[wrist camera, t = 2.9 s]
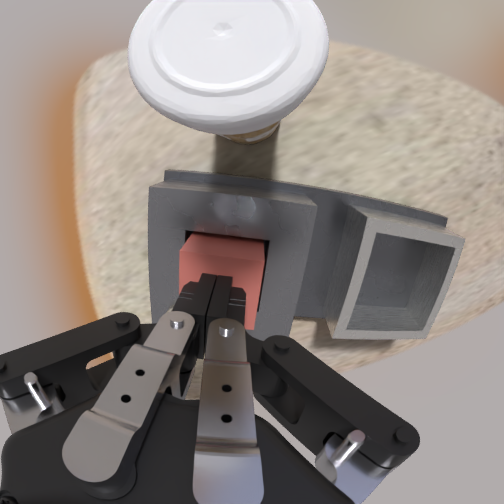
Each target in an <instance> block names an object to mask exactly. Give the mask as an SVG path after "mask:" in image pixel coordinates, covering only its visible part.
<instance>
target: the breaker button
mask: <svg viewBox="0 0 504 504" xmlns="http://www.w3.org/2000/svg"><path fill="white" fill-rule="evenodd" d="M264 263H265V257H264V241H263V239H256V238H248V237H240V236H231V235H223V234H215V233H206V232H198V231H194V232H193V233H192V234H191V236H190V237H189V238H188V240H187V241H186V243H185V244H184V245H183V247H182V248H181V249H180V254H179V294H180V293H181V290H182V288H183V286H184V285H185V284H187V283H188V282H190V281H193V282H199V279H200V277H201V274H202V273H208V274H215V275H217V277H218V275H223V276H231V277H233V281H232V287H239V288H243V290H244V291H245V293H246V306H245V322H244V327H245V329H248V330H254V325H255V319H256V313H257V307H258V301H259V294H260V288H261V282H262V276H263V269H264Z"/></svg>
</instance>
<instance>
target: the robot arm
mask: <svg viewBox="0 0 504 504" xmlns="http://www.w3.org/2000/svg"><path fill="white" fill-rule="evenodd" d="M232 281H233V277H231V276H223V275H218V277H217V275H215V274H208V273H202V274H201V277H200V279H199V282H193V281H190V282H188V283H187V284H185V285H184V286H183V288H182V290H181V293H180V294H179V297H178V299H177V301H176V303H175V305H174V307H173V309H172V311H171V312H168V313H166V314H164V315H163V316H162V317H161V318H160V320H159V321H158V323H153V324H140V320H139V318H138V317H137V316H136V315H134V314H132V313H128V312H120V313H116V314H113V315H110V316H108V317H105V318H102V319H99V320H97V321H94V322H91V323H88V324H86V325H83V326H80V327H77V328H75V329H72V330H69V331H66V332H64V333H61V334H58V335H55V336H52V337H50V338H47V339H44V340H41V341H39V342H36V343H33V344H30V345H27V346H24V347H22V348H19V349H16V350H13V351H10V352H7V353H5V354H2V355H0V399H1V400H2V403H3V407H4V411H5V414H6V417H7V421H8V424H9V427H10V430H11V433H12V435H11V436H10V437H9V438H8V439H7V441H6V442H5V444H4V447H3V450H2V456H1V463H2V480H1V488H0V504H361V503H362V502H363V501H364V500H365V499H366V498H367V497H368V496H369V495H370V494H371V493H372V492H373V490H374V489H375V488H376V487H377V486H378V485H379V484H380V483H381V481H382V480H383V479H384V478H385V477H386V476H387V475H388V474H389V473H390V472H392V471H393V470H394V469H395V468H397V467H398V466H399V465H400V464H401V463H402V462H404V461H405V460H406V459H407V458H408V457H409V456H411V454H413V453H414V452H415V451H416V450H417V448H418V447H419V443H420V437H419V434H418V432H417V430H416V429H415V428H414V427H413V426H412V425H411V424H409V423H408V422H406V421H405V420H403V419H402V418H400V417H399V416H397V415H396V414H394V413H393V412H391V411H390V410H389V409H387V408H386V407H384V406H383V405H381V404H380V403H379V402H377V401H376V400H374V399H373V398H371V397H370V396H368V395H367V394H366V393H364V392H363V391H362V390H360V389H359V388H357V387H356V386H355V385H353V384H352V383H351V382H349V381H348V380H346V379H345V378H344V377H342V376H341V375H340V374H338V373H337V372H336V371H334V370H333V369H332V368H330V367H329V366H328V365H326V364H325V363H324V362H322V361H321V360H320V359H318V358H317V357H316V356H314V355H313V354H312V353H310V352H309V351H308V350H307V349H305V348H304V347H303V346H301V345H300V344H299V343H298V342H296V341H295V340H294V339H292V338H290V337H287V336H283V335H274V336H270V337H268V338H266V339H265V341H262V340H259V339H256V338H254V337H252V336H251V335H249V334H248V333H247V331H246V330H245V327H244V322H245V306H246V293H245V291H244V290H243V288H239V287H232ZM110 352H113V356H114V358H113V359H111V360H108V361H106V362H104V363H101V364H99V365H97V366H94V367H92V368H90V369H86V365H87V363H88V362H89V361H91V360H93V359H96V358H98V357H100V356H102V355H105V354H107V353H110ZM204 354H205V359H204V364H203V374H202V384H201V394H200V400H185V397H186V394H187V392H188V389H189V386H190V383H191V380H192V378H193V375H194V372H195V365H196V361H197V358H199V359H203V358H204ZM252 391H253V392H252ZM253 395H254V397H255V398H256V400H257V401H258V402H259V403H260V404H261V405H262V406H263V407H264V408H265V409H266V410H267V411H268V412H269V413H270V414H271V415H272V416H273V417H274V418H275V419H277V421H278V422H279V423H281V424H282V425H283V426H284V427H285V428H286V429H287V430H288V431H289V432H290V433H291V434H292V435H293V436H294V437H295V438H296V439H298V440H299V441H300V442H301V443H302V444H303V445H304V446H305V447H306V448H308V449H309V450H310V451H311V452H312V453H313V454H314V455H316V459H315V466H316V468H315V467H314V466H313V465H312V464H311V463H309V461H308V460H306V458H304V457H303V456H302V455H301V454H300V453H299V452H298V451H297V450H296V449H295V448H294V447H293V446H292V445H291V444H290V443H289V442H288V441H287V440H286V439H285V438H284V437H283V436H282V435H281V434H280V433H279V432H278V430H277V429H276V428H275V427H273V426H272V425H271V424H270V423H269V422H267V421H266V420H264V419H263V418H261V417H259V416H257V415H255V414H254V404H253Z"/></svg>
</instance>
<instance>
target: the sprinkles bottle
mask: <svg viewBox="0 0 504 504" xmlns="http://www.w3.org/2000/svg"><path fill="white" fill-rule="evenodd" d="M328 52H329V38H328V32H327V27H326V24H325V21H324V18H323V16H322V14H321V12H320V10H319V9H318V7H317V6H316V4H315V3H314V2H313V1H312V0H153V1H152V2H151V3H150V4H149V5H148V6H147V7H146V8H145V10H144V11H143V12H142V13H141V15H140V17H139V18H138V20H137V22H136V24H135V26H134V28H133V31H132V33H131V36H130V40H129V46H128V66H129V72H130V75H131V78H132V80H133V83H134V85H135V87H136V89H137V90H138V92H139V93H140V95H141V96H142V97H143V99H144V100H145V101H146V102H147V103H148V104H149V105H150V106H151V107H152V108H154V109H155V110H156V111H158V112H159V113H160V114H162V115H164V116H166V117H167V118H169V119H171V120H173V121H175V122H178V123H180V124H182V125H185V126H187V127H190V128H193V129H196V130H199V131H203V132H207V133H213V134H217V135H220V136H222V137H225V138H228V139H230V140H231V141H234V142H237V143H240V144H254V143H258V142H260V141H263V140H265V139H267V138H268V137H270V136H271V135H272V133H274V132H275V130H276V129H277V127H278V125H279V123H280V121H281V119H283V118H284V117H286V116H287V115H288V114H290V113H291V112H292V111H293V110H294V109H295V108H297V107H298V106H299V104H300V103H301V102H302V101H303V100H304V99H305V98H306V96H307V95H308V94H309V93H310V92H311V90H312V89H313V87H314V86H315V85H316V83H317V81H318V79H319V78H320V76H321V74H322V72H323V70H324V68H325V64H326V61H327V58H328Z"/></svg>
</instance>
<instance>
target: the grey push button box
mask: <svg viewBox="0 0 504 504" xmlns="http://www.w3.org/2000/svg"><path fill="white" fill-rule="evenodd" d="M447 219H448V218H447V217H445V216H442V215H440V214H436V213H433V212H429V211H425V210H421V209H418V208H414V207H410V206H406V205H402V204H398V203H394V202H389V201H385V200H381V199H376V198H372V197H367V196H362V195H357V194H353V193H348V192H342V191H337V190H332V189H326V188H321V187H315V186H309V185H303V184H297V183H291V182H284V181H277V180H270V179H262V178H255V177H247V176H238V175H229V174H219V173H209V172H197V171H185V170H170V169H169V170H165V174H164V181H163V182H160V183H158V184H155V185H153V186H150V187H149V202H148V261H149V285H150V301H151V314H152V324H153V323H158V321H159V320H160V318H161V317H162V316H163V315H164V314H166V313H168V312H171V311H172V309H173V307H174V305H175V303H176V301H177V299H178V297H179V254H180V249H181V248H182V247H183V245H184V244H185V243H186V241H187V240H188V238H189V237H190V236H191V234H192V233H193V232H194V231H198V232H206V233H215V234H223V235H231V236H240V237H248V238H256V239H263V241H264V257H265V263H264V269H263V276H262V282H261V288H260V294H259V301H258V307H257V313H256V319H255V325H254V330H248V329H245V330H246V331H247V333H248V334H249V335H251V336H252V337H254V338H256V339H259V340H263V341H265V339H266V338H268V337H270V336H274V335H283V336H287V337H289V334H290V330H291V326H292V322H293V318H294V316H300V317H312V318H325V320H326V323H327V325H328V328H329V331H330V334H331V337H332V338H335V339H426V337H427V335H428V333H429V331H430V329H431V327H432V325H433V323H434V320H435V318H436V316H437V314H438V312H439V310H440V307H441V305H442V303H443V300H444V298H445V296H446V293H447V291H448V288H449V286H450V283H451V281H452V278H453V275H454V272H455V270H456V267H457V264H458V261H459V258H460V255H461V252H462V249H463V246H464V242H465V238H463V237H461V236H460V235H458V234H456V233H454V232H453V231H451V230H449V229H447V228H445V227H446V223H447Z"/></svg>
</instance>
